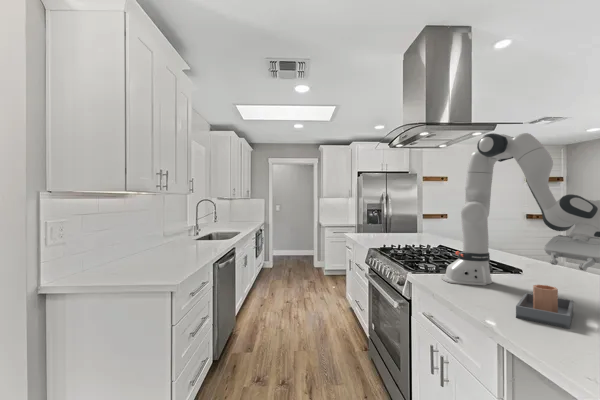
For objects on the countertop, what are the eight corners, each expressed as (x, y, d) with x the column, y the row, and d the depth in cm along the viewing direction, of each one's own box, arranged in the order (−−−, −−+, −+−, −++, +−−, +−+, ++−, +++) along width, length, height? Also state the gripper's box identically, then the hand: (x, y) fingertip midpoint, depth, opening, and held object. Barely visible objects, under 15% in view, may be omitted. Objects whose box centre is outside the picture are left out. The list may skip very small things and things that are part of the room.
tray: (569, 328, 100) (569, 316, 100) (516, 317, 109) (516, 305, 109) (573, 311, 114) (573, 300, 114) (525, 303, 124) (525, 292, 124)
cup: (548, 316, 108) (548, 290, 108) (529, 309, 114) (529, 285, 114) (561, 313, 110) (561, 288, 110) (542, 307, 116) (542, 284, 116)
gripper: (551, 229, 127) (533, 255, 124) (615, 235, 108) (595, 266, 105) (559, 240, 129) (541, 266, 126) (623, 247, 109) (604, 278, 106)
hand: (566, 266), depth 115 cm, fingers open, 8 cm apart
